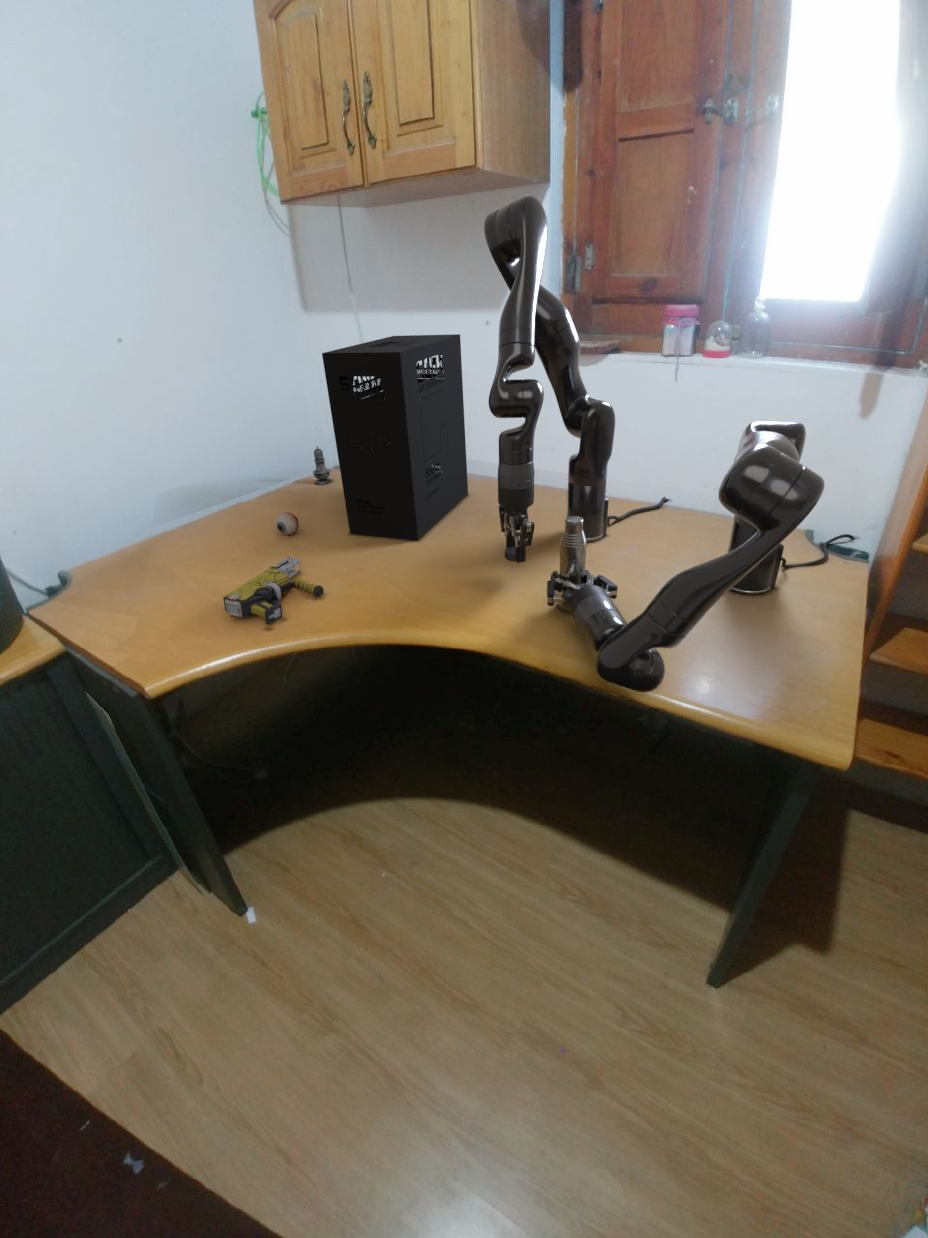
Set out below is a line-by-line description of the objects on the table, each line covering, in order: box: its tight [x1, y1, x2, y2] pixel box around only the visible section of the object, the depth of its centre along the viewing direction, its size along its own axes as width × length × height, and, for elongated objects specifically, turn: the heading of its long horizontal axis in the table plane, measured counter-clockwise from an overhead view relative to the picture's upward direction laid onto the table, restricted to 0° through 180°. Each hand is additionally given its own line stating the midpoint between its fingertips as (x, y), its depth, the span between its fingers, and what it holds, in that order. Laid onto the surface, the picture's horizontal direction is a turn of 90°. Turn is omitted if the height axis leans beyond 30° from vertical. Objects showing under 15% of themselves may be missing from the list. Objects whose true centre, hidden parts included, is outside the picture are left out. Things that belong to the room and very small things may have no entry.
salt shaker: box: [312, 446, 332, 485], centre depth 203 cm, size 6×6×12 cm
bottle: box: [558, 516, 587, 612], centre depth 118 cm, size 5×5×19 cm
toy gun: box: [222, 556, 324, 626], centre depth 131 cm, size 5×24×15 cm
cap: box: [504, 546, 517, 563], centre depth 133 cm, size 5×5×2 cm
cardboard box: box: [321, 333, 469, 541], centre depth 164 cm, size 38×20×45 cm, turn 159°
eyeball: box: [275, 511, 300, 536], centre depth 163 cm, size 6×6×6 cm
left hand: (515, 557), depth 133 cm, fingers closed on cap, 4 cm apart
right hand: (567, 573), depth 122 cm, fingers closed on bottle, 5 cm apart
